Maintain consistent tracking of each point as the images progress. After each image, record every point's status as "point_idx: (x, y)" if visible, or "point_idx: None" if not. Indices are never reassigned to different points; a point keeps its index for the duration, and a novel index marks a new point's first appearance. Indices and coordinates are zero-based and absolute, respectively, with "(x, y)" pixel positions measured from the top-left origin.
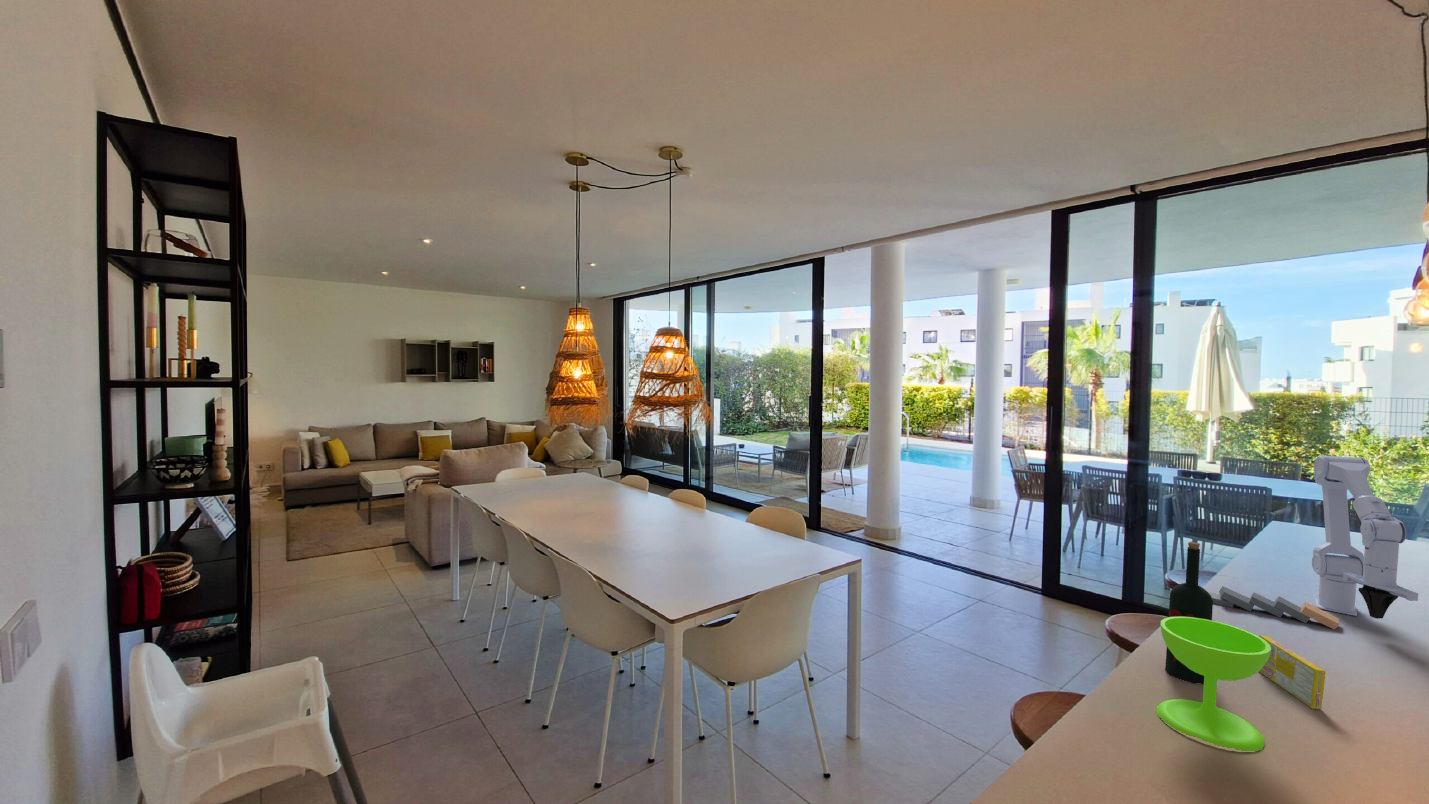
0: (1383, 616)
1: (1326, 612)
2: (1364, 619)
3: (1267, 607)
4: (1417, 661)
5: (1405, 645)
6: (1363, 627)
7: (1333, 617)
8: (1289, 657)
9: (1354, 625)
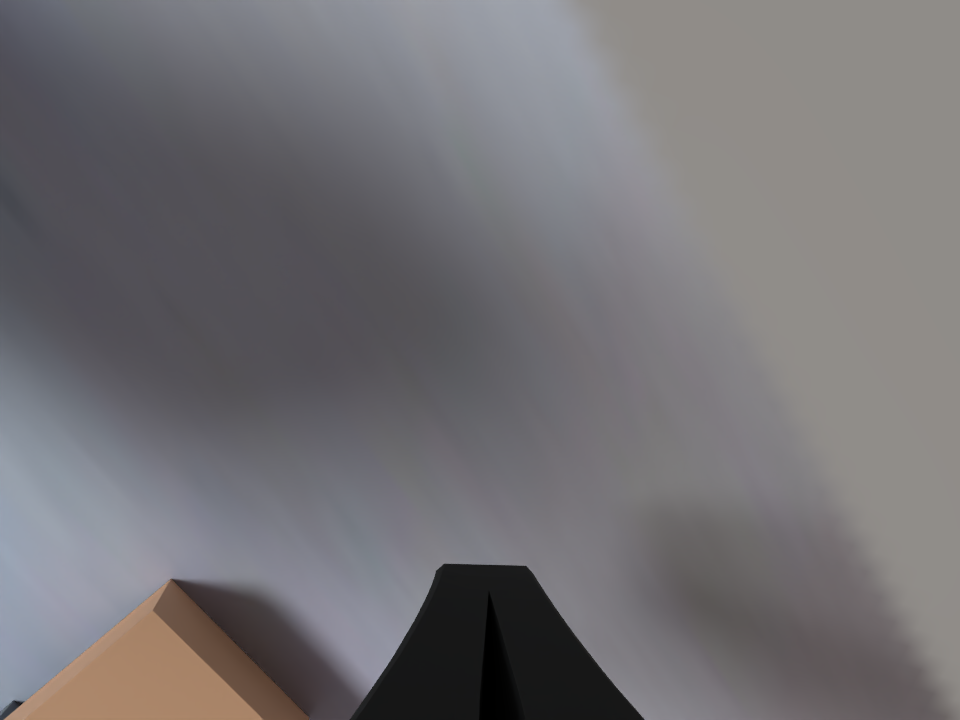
0: (537, 583)
1: (41, 709)
2: (11, 24)
3: None
4: (951, 710)
5: (703, 435)
6: (262, 351)
7: (158, 699)
8: None
9: (206, 393)
